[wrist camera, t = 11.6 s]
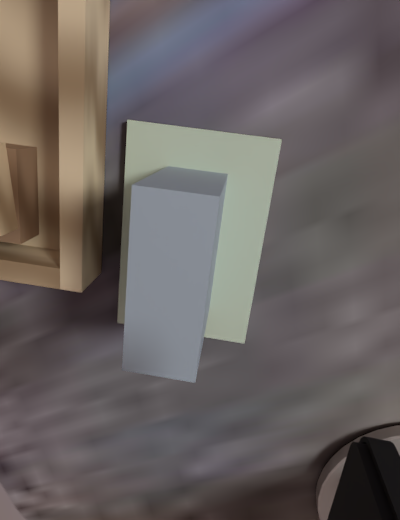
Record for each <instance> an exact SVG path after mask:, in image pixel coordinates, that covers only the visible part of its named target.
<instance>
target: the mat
mask: <svg viewBox="0 0 400 520" xmlns="http://www.w3.org/2000/svg"><path fill="white" fill-rule="evenodd" d="M281 142H282V139H275V138H268V137H260V136H252V135H244V134H236V133H228V132H220V131H213V130H205V129H197V128H189V127H181V126H173V125H166V124H158V123H150V122H142V121H134V120H127V137H126V157H125V177H124V197H123V217H122V237H121V257H120V277H119V297H118V317H117V323H121V324H124V322H125V304H126V285H127V266H128V248H129V229H130V210H131V192H132V184H134V183H136V182H138V181H140V180H142V179H144V178H146V177H148V176H150V175H152V174H154V173H156V172H158V171H160V170H162V169H164V168H166V167H168V166H171V167H179V168H187V169H194V170H202V171H210V172H217V173H225V174H228V177H227V184H226V192H225V199H224V206H223V213H222V221H221V228H220V235H219V242H218V250H217V257H216V264H215V271H214V279H213V286H212V293H211V300H210V308H209V313H208V318H207V324H206V329H205V334H204V337H207V338H213V339H220V340H226V341H232V342H238V343H245V338H246V332H247V327H248V321H249V316H250V310H251V305H252V299H253V294H254V289H255V283H256V278H257V272H258V267H259V261H260V256H261V250H262V245H263V240H264V234H265V229H266V223H267V218H268V212H269V207H270V201H271V196H272V191H273V185H274V180H275V174H276V169H277V163H278V158H279V152H280V147H281Z"/></svg>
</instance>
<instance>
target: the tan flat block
mask: <svg viewBox="0 0 400 520" xmlns="http://www.w3.org/2000/svg"><path fill="white" fill-rule="evenodd" d="M6 150H7V157H8V163H9V170H10V177H11V183H12V190H13V197H14V204H15V210H16V217H17V224H18V229H16V230H14V231H12V232H9V233H7V234H5V235H3V236H0V241H2V242H8V243H15V244H22V243H24V242H26V241H28V240H30V239H32V238H34V237H36V236H37V235H39V209H38V172H37V147H32V146H24V145H17V144H9V143H6Z"/></svg>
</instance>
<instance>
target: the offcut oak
mask: <svg viewBox="0 0 400 520" xmlns="http://www.w3.org/2000/svg"><path fill="white" fill-rule="evenodd" d="M16 229H18V224H17V217H16V210H15V204H14V197H13V190H12V183H11V177H10V170H9V163H8V157H7V150H6V143H5V142H0V236H3V235H5V234H7V233H9V232H12V231H14V230H16Z"/></svg>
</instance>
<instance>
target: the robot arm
mask: <svg viewBox="0 0 400 520" xmlns="http://www.w3.org/2000/svg"><path fill="white" fill-rule="evenodd" d="M315 495H316V505H317V510H318V514H319V519H320V520H400V425H397V426H392V427H388V428H383V429H379V430H376V431H373V432H371V433H368V434H366V435H363V436H361V437H358V438H357V439H355V440H353V441H352V442H350V443H348V444H347V445H345V446H344V447H343V448H341V449H340V450H339V451H338V452H337V453H336V454H335V455H333V456H332V457H331V459H330V460H329V461H328V463H327V464H326V465H325V467H324V468H323V470H322V472H321V474H320V477H319V479H318V481H317V487H316V493H315Z"/></svg>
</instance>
